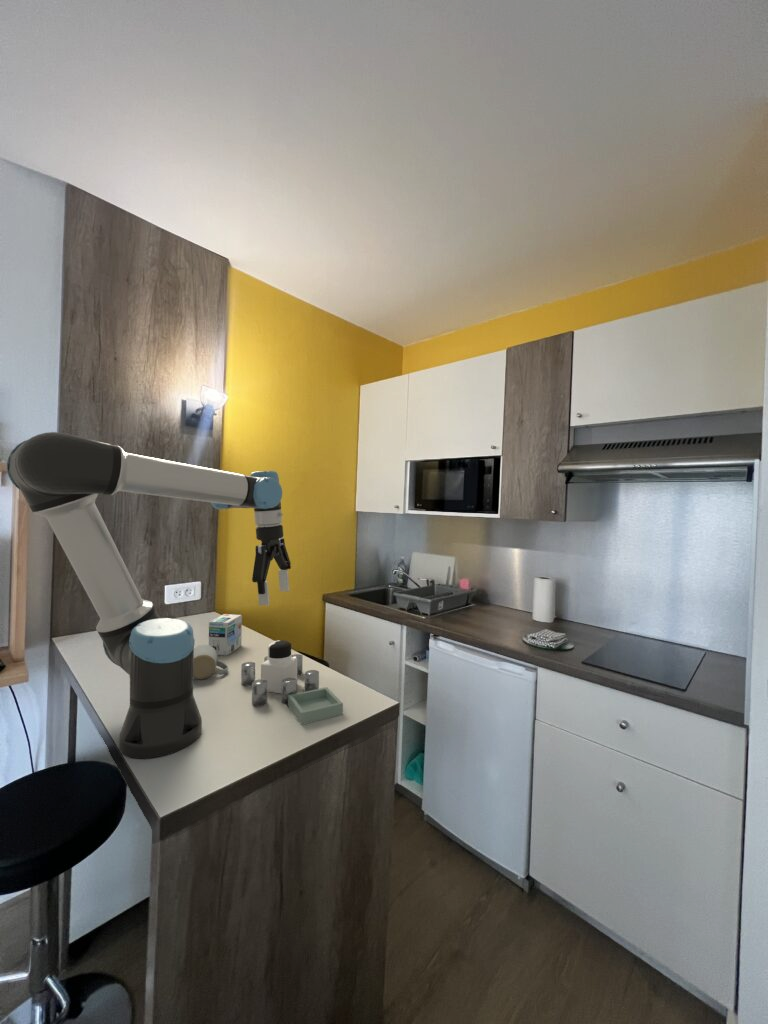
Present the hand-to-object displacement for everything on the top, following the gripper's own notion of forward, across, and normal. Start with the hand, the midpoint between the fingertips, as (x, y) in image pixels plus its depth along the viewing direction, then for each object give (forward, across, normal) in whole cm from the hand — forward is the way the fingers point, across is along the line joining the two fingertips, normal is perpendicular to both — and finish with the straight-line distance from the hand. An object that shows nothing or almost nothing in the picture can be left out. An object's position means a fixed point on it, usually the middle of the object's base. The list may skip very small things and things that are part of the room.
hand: (275, 597), depth 122 cm
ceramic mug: (+20, -8, +19) cm, 29 cm away
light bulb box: (+22, +12, +25) cm, 35 cm away
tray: (+21, -21, -18) cm, 35 cm away
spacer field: (+21, -11, -5) cm, 24 cm away
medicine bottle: (+21, -11, -5) cm, 25 cm away
